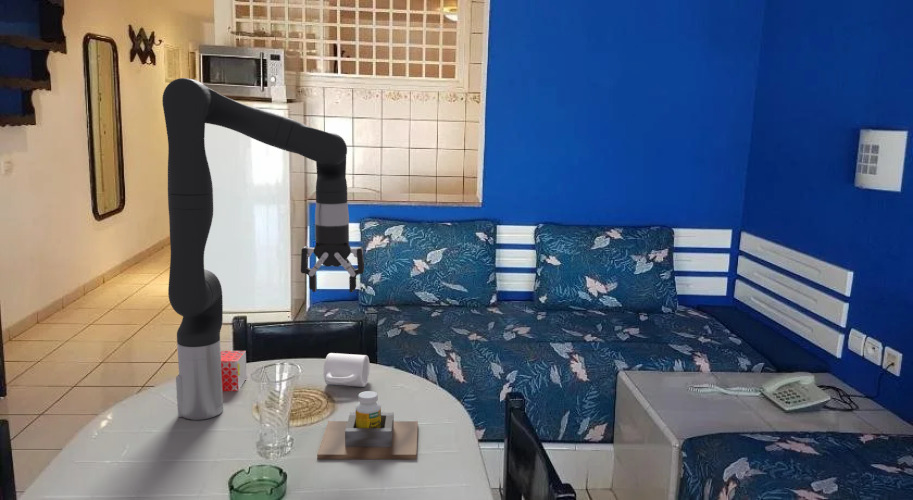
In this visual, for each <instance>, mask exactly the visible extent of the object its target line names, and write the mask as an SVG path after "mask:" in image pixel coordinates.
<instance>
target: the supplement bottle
mask: <svg viewBox="0 0 913 500" xmlns="http://www.w3.org/2000/svg"><path fill="white" fill-rule="evenodd" d="M378 399H379V398H378V393H377V392H375V391H373V390H367V391H366V390H365V391H362V392H360V393H358V402H357V403H356V405H355V412H356V428H381V413H382V405H381V403H380V402H378Z"/></svg>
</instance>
